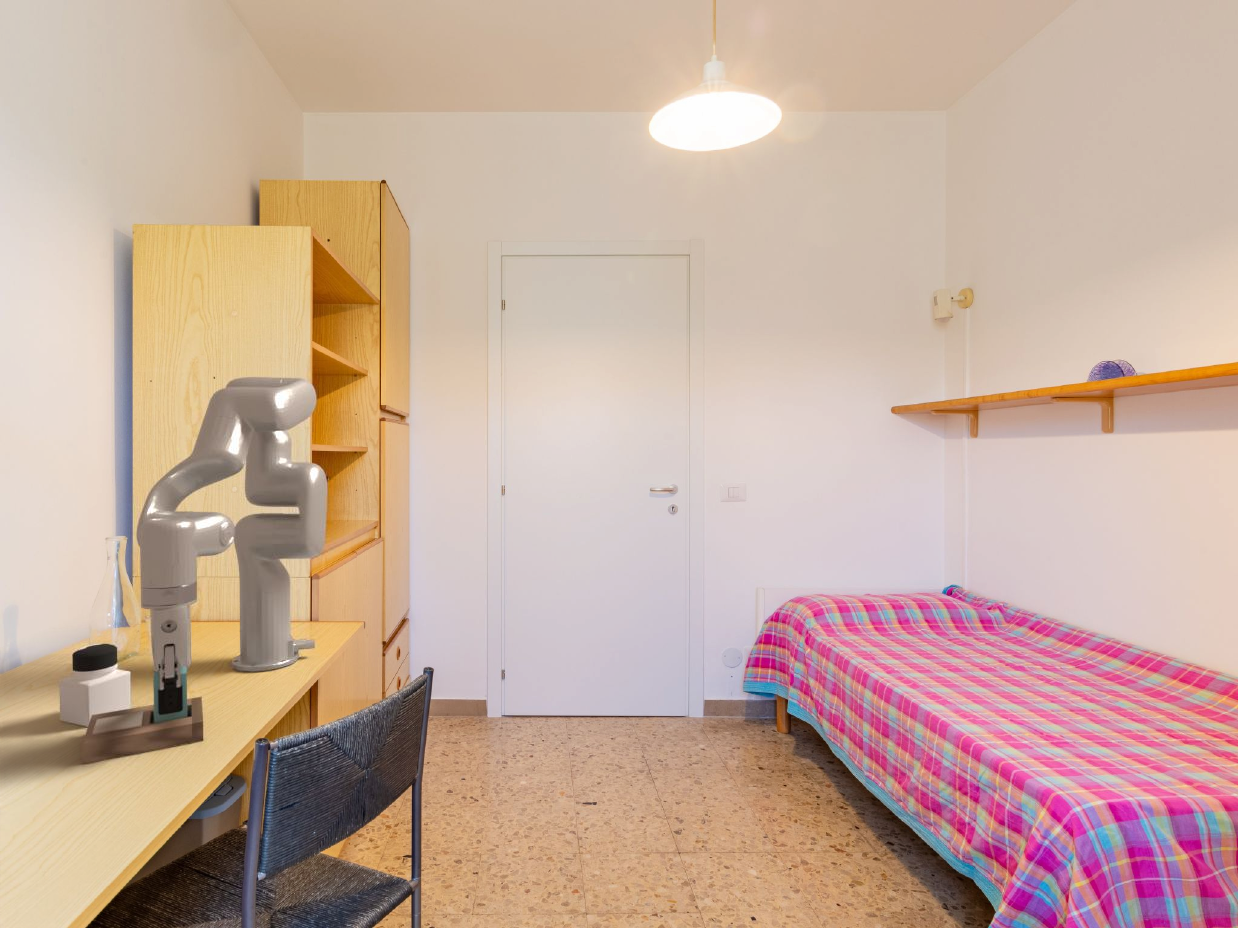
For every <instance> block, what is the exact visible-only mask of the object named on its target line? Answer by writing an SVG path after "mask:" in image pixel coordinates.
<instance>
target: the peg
mask: <svg viewBox="0 0 1238 928" xmlns="http://www.w3.org/2000/svg"><path fill="white" fill-rule="evenodd" d="M174 668H175V667H174ZM180 668H181V670H180V680H181V686H182V689H183V710H182V711H180V712H175V713H170V714H164V715H159V713H158V689H160V673H159V672H157V671H155V670H154V672H153V678H152V679H153V705H154V723H159V722H164V721H170V720H175V719H181V718H186V717H187V699H188V684H187V683H188V678H187V677H188V676H187V675H188V673H187V672H188V668H186V666H183V667H182V666H180ZM164 669H165V668H164ZM159 671H160V669H159ZM174 674H176V675H177V672H174ZM164 676H165V673H164ZM176 683H177V681H176ZM176 686H177V685H176Z"/></svg>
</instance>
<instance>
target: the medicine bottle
mask: <svg viewBox="0 0 1238 928" xmlns="http://www.w3.org/2000/svg"><path fill="white" fill-rule="evenodd" d="M71 657H72V660H71V661H72V675H70V676H68V677H64V678H61V679H59V680H58V683H59V685H58V686H59V691H58V693H59V720H60V722H63V723H67V724H68V723H69V724H74V725H77V726H82V727H87V728H88V725H89V722H90V719H91V716H92V715H95V714H101V713H107V712H113V711H119V710H125V709H131V708H132V682H131V678H132V677H131V676H132V675H131V674H132V673H131V671H130V670H129V671H127V670H124V669H118V664H119V663H118V647H117V646H116V645H114V644H110V643H95V644H90V645H89V644H88V645H86V646H82V647H80V648H78V649H76V650H75V651H74V652H73V653H72V656H71Z"/></svg>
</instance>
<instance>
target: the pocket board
mask: <svg viewBox="0 0 1238 928" xmlns="http://www.w3.org/2000/svg"><path fill="white" fill-rule="evenodd" d="M202 699H203V697H202V696H199V697H198V696H197V697H192V698H191V697H190V698H187V717H186V718H181V719H175V720H170V721H164V722H159V723H154V704H151V705H145V706H144V705H143V706H138V707H137V706H136V707H131V709H125V710H119V711H113V712H107V713H101V714H95V715H92V716H91V719H90V722H89V725H88V727H87V729H86V732H85V736H84V738H83V741H82V744H81V745H82V747H81V748H82V749H81V750H82V751H81V752H82V765H85V764H90V763H91V764H92V763H96V762H100V761H106V760H111V759H115V758H121V757H125V756H131V755H137V754H141V753H145V752H151V751H157V750H161V749H165V748H171V747H177V746H182V745H187V744H193V743H197V742H202V741H203V742H204V712H203V700H202Z"/></svg>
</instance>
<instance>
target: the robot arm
mask: <svg viewBox="0 0 1238 928" xmlns="http://www.w3.org/2000/svg"><path fill="white" fill-rule="evenodd" d="M316 405H317V392H316V389H315V387H314V385H313V384H312V383H311V382H310V381H309V380H307V379H305V378H301V377H269V376H248V377H239V378H234V379H232V380H230V381H229V382H228V383H227V384H226V386H225V387H224V388H220V389H219V390H217V391H215V392H214V393H213V394H212V396H211V398H210V400H209V402H208V404H207V408H206V411H205V413H204V416H203V420H202V422H201V426H200V428H199V431H198V435H197V438H196V440H195V444H194V447H193V450H192V451H191V454H190V455H189V456H188V457H186V458H185V459H183V460H182V461H180V462H179V463H178V464H176V465H175V466H173V468H171V469H170V470H168V472H167V473H165V474H164V475H163V476H162V477H161V478H160V479H159V480H158V481H156V483H155V484H154V485H153V487H152V488H151V489H150V490H149V492H148V494H147V497H146V499H145V501H144V505H143V508H142V510H141V513H140V515H139V519H138V523H137V527H136V534H135V535H136V542H137V544H138V546H139V557H140V558H139V561H140V562H139V564H140V566H139V567H140V571H139V572H140V573H139V574H140V608H141V609H145V610H149V612H150V639H151V642H150V643H151V653H152V663H153V669H154V670H155V671H157V672H159V673H160V689H158V713H159V715H164V714H170V713H175V712H180V711H182V710H183V689H182V686H181V680H180V670H181V668H180V666H182V667H183V666H186V668H187V669H188V668H189V667H191V665H192V620H191V619H192V618H191V607H190V606H191V605H194V604H195V603H197V602H198V586H197V585H198V582H197V581H198V577H197V576H198V574H197V572H198V571H197V570H198V568H197V567H198V566H197V563H198V562H197V558H200V557H212V556H217V555H219V554H222V553H223V552H225V551H227V550H228V549H229V548H230V547H231V546H232V544H234V549H235V553H236V558H237V565H238V574H239V577H238V579H239V651H240V652H239V655H237V656H235V657H233V658H232V660H231V667H232V668H233V670H236V671H239V672H262V671H270V670H271V671H272V670H276V669H281V668H284V667H287V666H289V665H292V664H294V663H296V662H297V661H299V660H298V659H299V656H300V655H299V654H300V653H299V652H300V650H310V649H315V648H316V645H315V638H313V639H312V638H311V639H307V638H301V639H295V638H293V636H292V634H291V633H292V632H291V578H290V574H289V571H288V570H287V568H286V567H285V565H284V563H282V561H281V560H286V559H287V560H291V559H292V560H294V559H295V560H296V559H297V560H299V559H301V560H302V559H304V560H306V559H307V560H308V559H314V558H317V557H318V556H319V555H320V554H321V553H322V552H323V550H324V547H325V544H326V531H327V513H328V481H327V477H326V476H327V475H326V473H325V471H324V469H323V468H322V467H321V465H318V464H317V463H313V462H303V461H301V462H300V461H299V462H298V461H297V462H294V461H292V438H291V436H290V434H289V432H288V431H290V429H292V428H294V427H296V426H297V425H299V424H301V423H302V422H305V420H307V419H308V418H309V417H311V416H312V414H313V412H314V411H315V408H316ZM244 467H245V470H244V471H245V474H244V475H245V476H244V477H245V478H244V492H245V493H244V494H245V497H246V500H247V501H248V502H249V504H251V505H253V506H257V507H264V508H266V507H268V508H298V512H299V513H282V512H281V513H280V512H279V513H278V512H277V513H276V512H273V513H272V512H269V513H267V512H262V513H261V512H260V513H259V512H258V513H253V514H252V513H251V514H248V515H246V516H244V517H242V518H240V519H239V520H238V522H237V523H236V524H234V522H233V520H232V518H230V517H229V516H228V515H226V514H224V513H221V512H216V511H215V512H214V511H178V510H177V509H178V507H179V505H180V504H182V502H183V501H184V500H185V499H186V498H187V497H189V496H190V495H192V494H193V493H195V492H198V490H200V489H203V488H205V487H208V486H210V485H211V486H212V484H215V483H217V482H221V481H223V480H226V479H228V478H230V477H233V476H235V475H236V474H239V473H240V472H241V471H242V470H243V469H244ZM174 667H175V668H174ZM164 668H165V669H164ZM159 669H160V671H159ZM174 672H177V675H176V674H174ZM164 673H165V676H164ZM176 681H177V683H176ZM176 685H177V686H176Z"/></svg>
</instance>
